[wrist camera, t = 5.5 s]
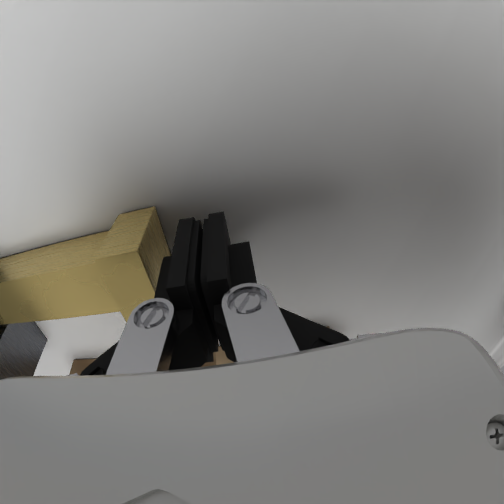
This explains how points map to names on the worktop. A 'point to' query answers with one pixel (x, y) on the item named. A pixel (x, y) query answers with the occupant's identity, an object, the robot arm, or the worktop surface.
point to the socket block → (20, 349)
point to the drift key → (86, 273)
